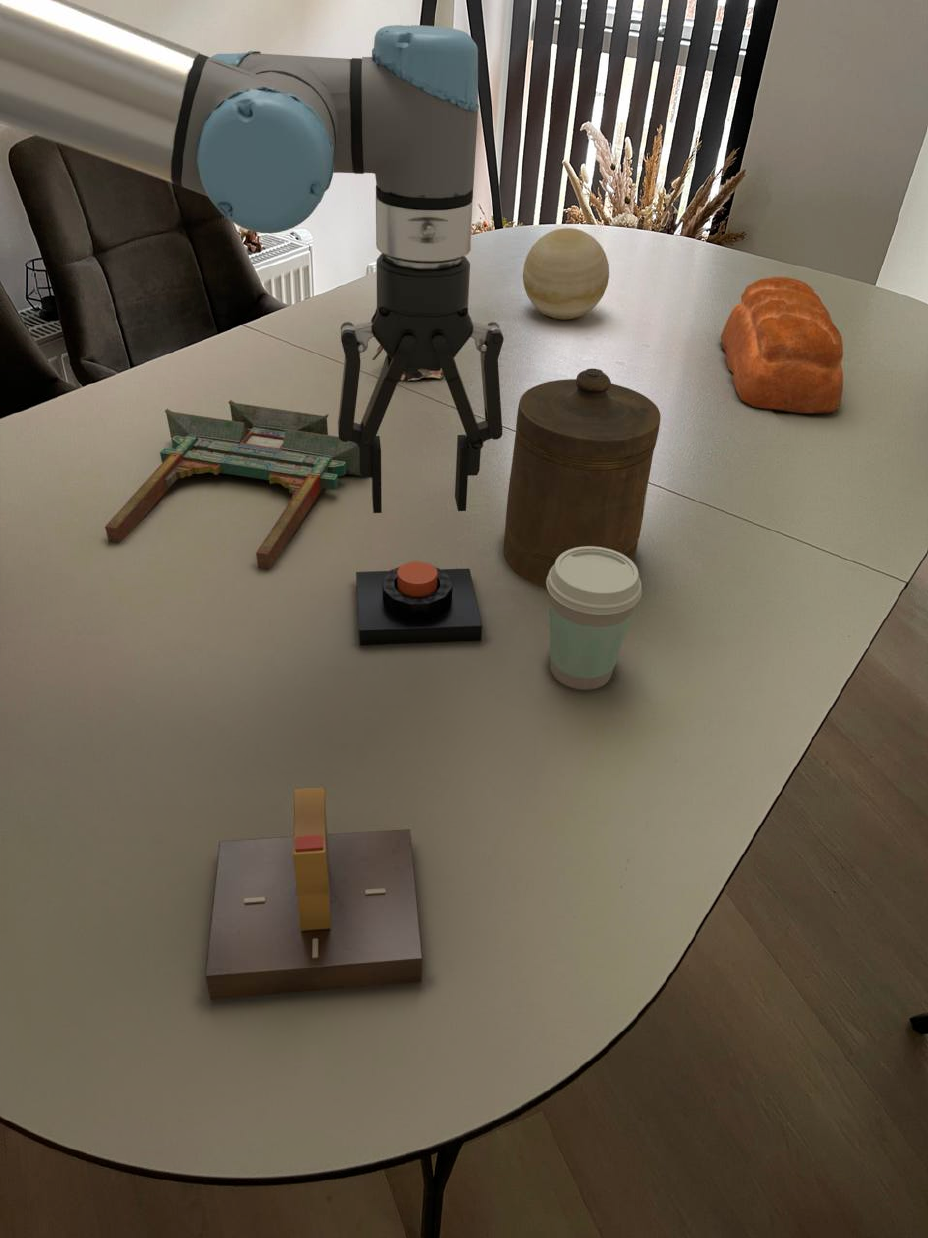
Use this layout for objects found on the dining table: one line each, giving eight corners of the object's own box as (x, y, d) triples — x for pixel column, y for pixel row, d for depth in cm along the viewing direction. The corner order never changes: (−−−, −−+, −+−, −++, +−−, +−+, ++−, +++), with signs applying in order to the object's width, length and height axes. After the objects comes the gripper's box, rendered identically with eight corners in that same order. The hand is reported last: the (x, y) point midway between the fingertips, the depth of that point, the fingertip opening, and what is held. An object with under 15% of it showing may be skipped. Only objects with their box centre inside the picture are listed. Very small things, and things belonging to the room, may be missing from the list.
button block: (359, 648, 93) (358, 615, 90) (356, 588, 101) (355, 557, 98) (481, 643, 94) (483, 610, 92) (468, 585, 102) (470, 554, 100)
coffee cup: (642, 673, 91) (664, 570, 84) (587, 714, 86) (604, 609, 79) (574, 633, 96) (589, 532, 89) (517, 669, 91) (528, 566, 84)
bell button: (398, 598, 93) (398, 584, 92) (396, 575, 96) (396, 561, 95) (439, 597, 94) (439, 582, 93) (435, 574, 97) (435, 560, 96)
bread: (738, 410, 141) (758, 324, 133) (716, 335, 166) (732, 258, 158) (844, 419, 140) (871, 333, 132) (806, 342, 165) (827, 265, 157)
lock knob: (301, 865, 68) (294, 786, 63) (329, 863, 68) (324, 784, 63) (300, 931, 64) (292, 852, 59) (330, 929, 64) (325, 849, 59)
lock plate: (210, 1002, 63) (204, 974, 61) (223, 867, 71) (219, 839, 69) (421, 984, 64) (422, 957, 62) (409, 854, 73) (410, 827, 71)
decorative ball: (613, 312, 173) (625, 226, 164) (588, 338, 162) (599, 247, 153) (536, 297, 178) (544, 213, 169) (506, 321, 167) (513, 232, 158)
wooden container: (660, 560, 108) (697, 376, 94) (575, 611, 99) (604, 416, 86) (561, 509, 116) (583, 332, 103) (475, 552, 107) (487, 365, 94)
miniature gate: (68, 508, 103) (190, 383, 125) (80, 549, 107) (196, 421, 129) (301, 548, 99) (385, 412, 121) (306, 589, 103) (386, 449, 125)
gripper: (294, 268, 71) (310, 528, 85) (556, 270, 74) (530, 522, 88) (296, 239, 77) (311, 487, 91) (538, 242, 80) (517, 483, 94)
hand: (418, 504), depth 89 cm, fingers open, 7 cm apart
